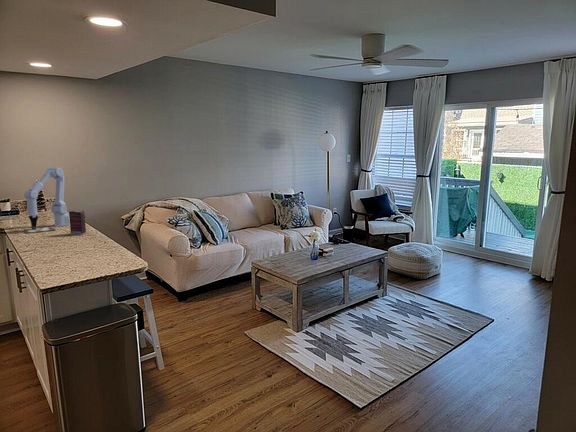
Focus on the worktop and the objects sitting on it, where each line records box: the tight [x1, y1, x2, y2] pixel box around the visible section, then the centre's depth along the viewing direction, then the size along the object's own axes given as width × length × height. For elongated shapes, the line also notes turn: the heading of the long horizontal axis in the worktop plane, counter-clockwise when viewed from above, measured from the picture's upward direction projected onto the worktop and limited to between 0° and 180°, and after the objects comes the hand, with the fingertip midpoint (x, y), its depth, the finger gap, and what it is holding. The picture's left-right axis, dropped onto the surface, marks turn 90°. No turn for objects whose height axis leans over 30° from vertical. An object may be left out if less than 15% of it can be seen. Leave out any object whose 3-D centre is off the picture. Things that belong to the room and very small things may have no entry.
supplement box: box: [68, 210, 87, 236], centre depth 274 cm, size 9×5×16 cm, turn 84°
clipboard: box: [23, 226, 56, 235], centre depth 284 cm, size 18×14×2 cm
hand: (34, 226), depth 283 cm, fingers closed on marker, 3 cm apart
